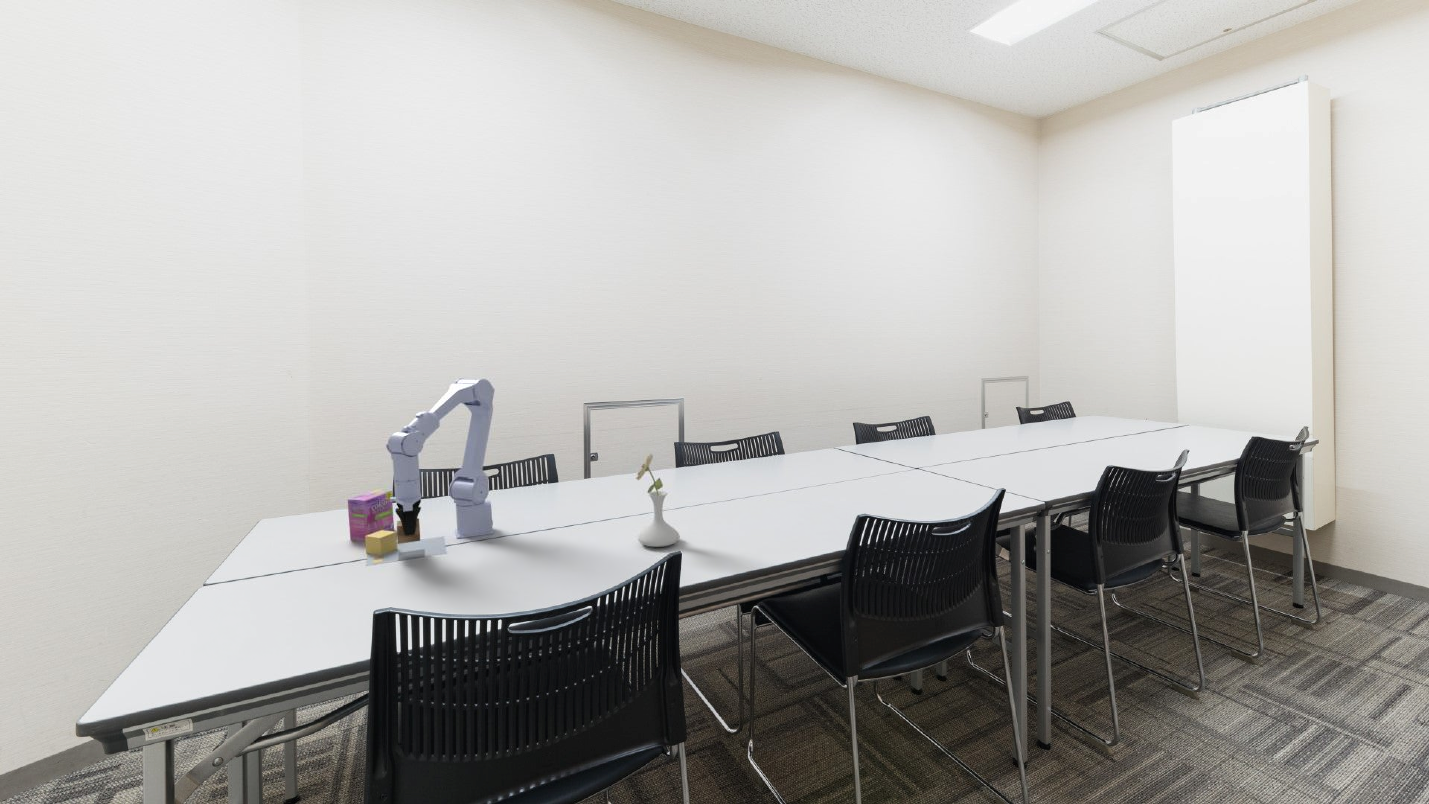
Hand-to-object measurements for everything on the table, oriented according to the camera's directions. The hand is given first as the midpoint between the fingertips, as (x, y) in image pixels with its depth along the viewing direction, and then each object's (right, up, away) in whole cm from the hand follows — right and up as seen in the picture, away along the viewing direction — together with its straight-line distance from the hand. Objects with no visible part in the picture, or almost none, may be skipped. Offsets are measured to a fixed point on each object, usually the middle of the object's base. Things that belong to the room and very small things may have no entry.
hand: (410, 531), depth 151 cm
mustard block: (-9, -6, +4) cm, 12 cm away
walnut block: (0, -2, 0) cm, 2 cm away
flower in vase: (+62, -5, +8) cm, 63 cm away
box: (-19, -5, +17) cm, 26 cm away
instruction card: (-3, -6, +4) cm, 8 cm away
